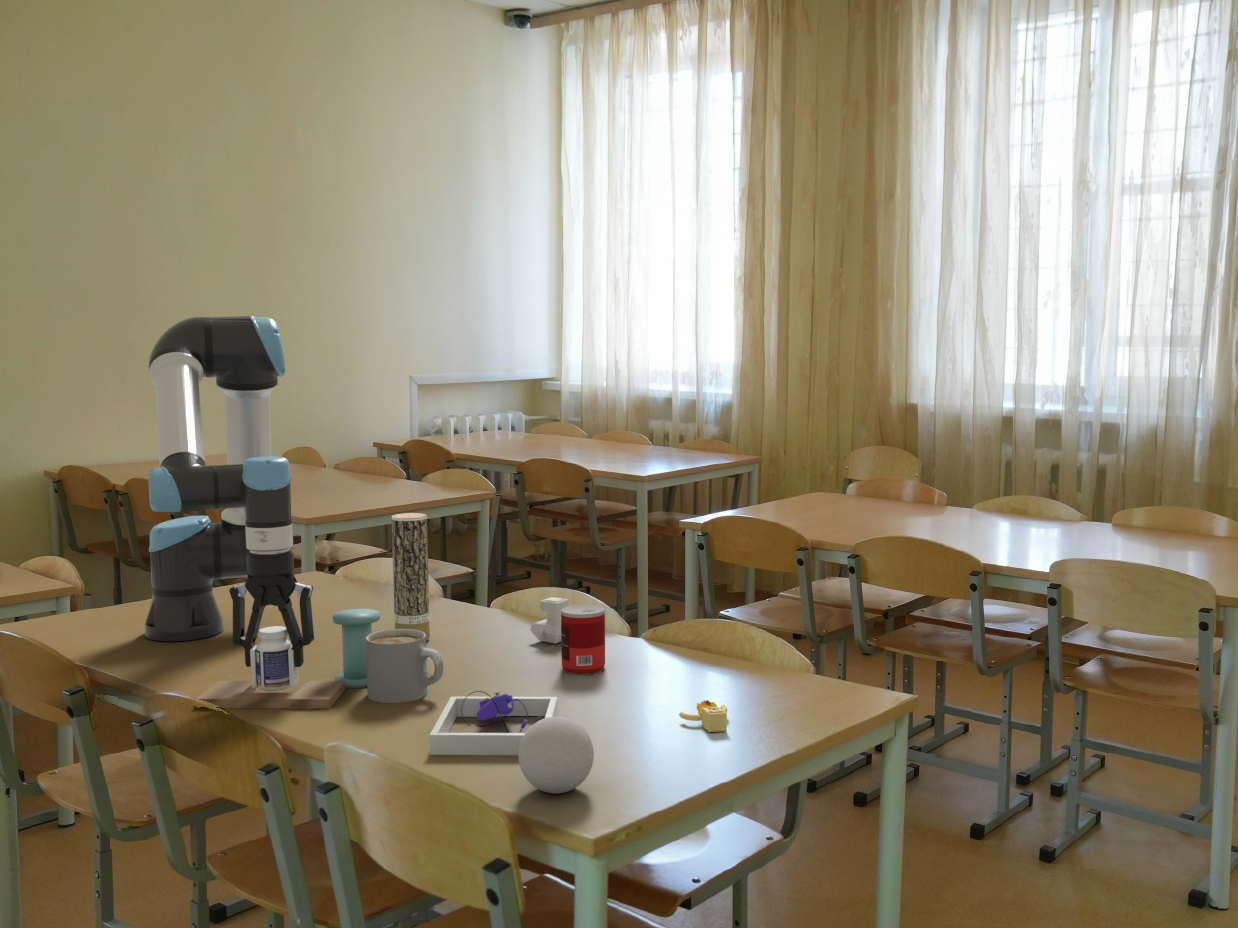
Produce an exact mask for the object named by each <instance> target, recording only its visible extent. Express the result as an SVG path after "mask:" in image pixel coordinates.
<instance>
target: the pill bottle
mask: <svg viewBox="0 0 1238 928" xmlns="http://www.w3.org/2000/svg"><path fill="white" fill-rule="evenodd" d="M288 636H289V635H288V632H287V629H286V626H278V625H276V626H275V625H274V626H267V627H262V628H259V630H258V638H259V639H260V641H259V642H258V643H257V644H256V645H257V646H256V656H257V680H258V686H257V688H259V689H260V690H262V691H266V692H268V691H269V692H275V691H276V692H277V691H282V690H285V689H288V688H290V684H289V659H288V649H290V648H291V647H292V644H291V641H289V640H288V639H287V637H288Z"/></svg>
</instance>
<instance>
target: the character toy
mask: <svg viewBox="0 0 1238 928" xmlns="http://www.w3.org/2000/svg"><path fill="white" fill-rule="evenodd" d="M696 709H697V712H698V714H688V713H686V712H684V711H680V712H679V713H678V716H679V717H680V718H681V719H683V720H685V721H691V722H692V721H693V722H695V721H696V722H700V721H701V727H703V729H705V730H706V731H708V732H709V733H715V732H716V733H717V732H727V730H728V729H727V724H728V722H727V719H728V716H727V715H728V707H727V706H726V705H725V704H722V705H721V706H718V705H717V703H715V702H714V701H709V700H708V699H703V701H702V700H701V702H700V703H699V702H698V703H697V704H696Z"/></svg>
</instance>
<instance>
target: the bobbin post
mask: <svg viewBox="0 0 1238 928" xmlns="http://www.w3.org/2000/svg"><path fill="white" fill-rule="evenodd" d="M380 618H381V613H380V611H378V610H377V609H372V608H351V609H344V610H339V611H337V612H334V613H333V614H332V622H333V623H334V624H335V625H341V639H342V640H341V641H342V663H343V664H342V665H343V666H342V667H343V669H342V670H343V671H340V672H339V673H337V674H336V675H335V676H334V681H345V687H346V688H347V689H359V688H361V689H362V688H366V686H367V658H366V637H367V636H368V635H370V634H372V633H373V631H372V624H373V623H377V622H378V621H379V620H381V619H380ZM346 688H345V689H346Z"/></svg>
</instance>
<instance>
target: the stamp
mask: <svg viewBox="0 0 1238 928" xmlns="http://www.w3.org/2000/svg"><path fill="white" fill-rule="evenodd" d="M569 602H570V599H568V598H561V597H554V596H551V597H548V598H544V599H541V600H540V601H539V605H540V606H539V607H540V610H541V612H543V613H546V615H547V616H546V618H545V619H542V620H538V621H535V622H534V623H532V624H531V626H530V631H531V633H532V634H533V635H534V636H535V638H536V639H537V640H538V641H541V642H545V643H550V644H557V643H561V610H562V609H563V608H565V607H568V606H569Z"/></svg>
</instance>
